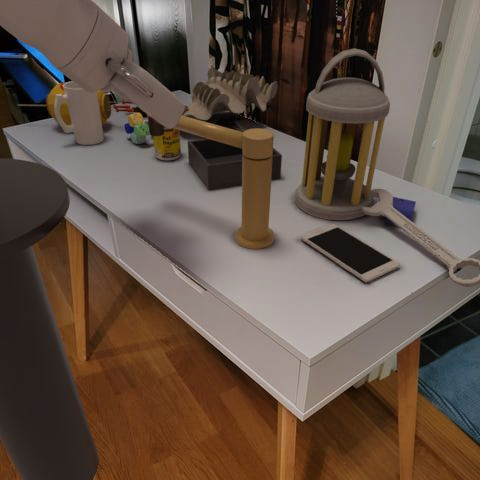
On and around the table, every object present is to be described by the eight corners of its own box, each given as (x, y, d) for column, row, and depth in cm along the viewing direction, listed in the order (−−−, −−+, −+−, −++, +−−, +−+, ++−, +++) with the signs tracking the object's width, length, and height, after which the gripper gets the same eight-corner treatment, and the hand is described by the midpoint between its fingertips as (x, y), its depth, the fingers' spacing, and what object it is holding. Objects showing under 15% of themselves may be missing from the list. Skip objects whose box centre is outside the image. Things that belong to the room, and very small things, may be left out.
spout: (277, 164, 72) (279, 132, 69) (260, 173, 69) (262, 141, 66) (161, 128, 83) (158, 100, 80) (142, 136, 80) (138, 106, 77)
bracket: (408, 227, 82) (412, 214, 81) (380, 221, 83) (384, 208, 82) (414, 205, 89) (418, 192, 87) (388, 200, 90) (392, 187, 89)
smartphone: (333, 222, 82) (401, 264, 73) (332, 226, 83) (400, 267, 73) (299, 235, 79) (366, 280, 70) (298, 239, 79) (366, 284, 70)
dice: (125, 137, 113) (121, 108, 109) (135, 135, 114) (131, 106, 110) (141, 148, 108) (137, 118, 104) (151, 145, 109) (148, 116, 105)
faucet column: (243, 252, 77) (245, 166, 67) (229, 232, 81) (229, 150, 72) (280, 244, 78) (286, 160, 69) (264, 225, 83) (268, 144, 74)
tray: (208, 190, 93) (207, 166, 90) (188, 163, 102) (187, 141, 99) (280, 178, 97) (282, 155, 94) (255, 154, 107) (256, 132, 103)
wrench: (353, 205, 85) (353, 197, 83) (378, 188, 85) (378, 180, 84) (465, 297, 71) (466, 290, 69) (494, 276, 71) (496, 268, 69)
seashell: (238, 102, 134) (248, 44, 123) (283, 134, 126) (299, 74, 115) (152, 119, 118) (155, 54, 107) (197, 156, 110) (206, 90, 100)
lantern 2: (148, 117, 121) (32, 115, 123) (142, 76, 114) (18, 75, 116) (139, 136, 114) (16, 134, 116) (132, 94, 107) (1, 92, 109)
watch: (134, 100, 122) (134, 111, 125) (137, 113, 120) (137, 125, 123) (164, 99, 124) (163, 110, 127) (168, 113, 122) (167, 124, 125)
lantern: (300, 220, 84) (316, 61, 68) (290, 184, 95) (302, 39, 78) (381, 219, 84) (416, 61, 68) (362, 183, 95) (389, 39, 79)
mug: (96, 132, 115) (86, 78, 108) (110, 141, 112) (101, 85, 104) (56, 142, 110) (42, 86, 103) (69, 151, 107) (56, 93, 99)
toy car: (230, 124, 120) (230, 108, 118) (260, 138, 113) (261, 122, 110) (211, 129, 117) (210, 112, 115) (241, 144, 110) (241, 127, 108)
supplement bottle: (163, 163, 102) (158, 113, 95) (151, 155, 106) (145, 105, 99) (186, 157, 105) (182, 108, 98) (173, 149, 108) (169, 101, 101)
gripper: (140, 46, 53) (221, 122, 63) (84, 18, 66) (158, 84, 77) (109, 96, 54) (193, 162, 64) (60, 58, 68) (136, 118, 78)
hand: (174, 119), depth 71 cm, fingers closed
